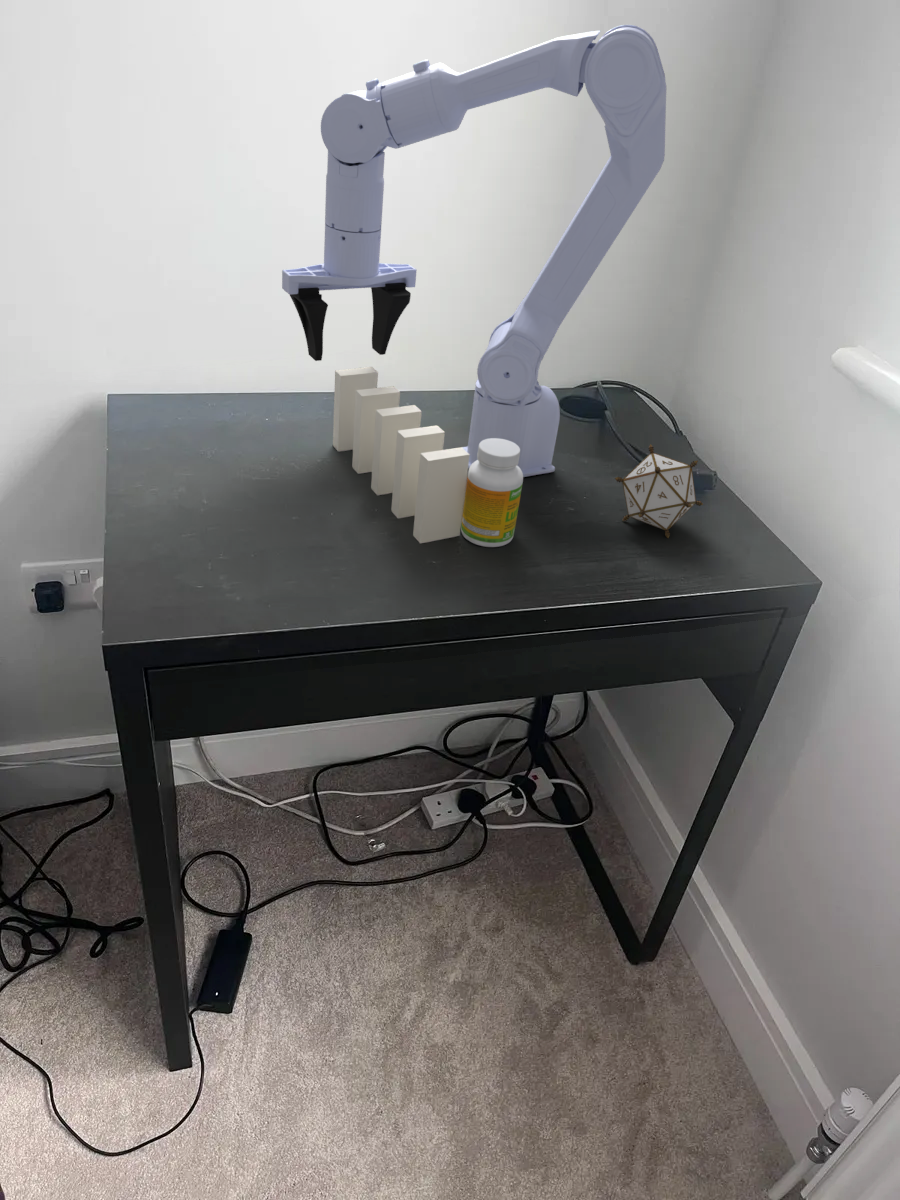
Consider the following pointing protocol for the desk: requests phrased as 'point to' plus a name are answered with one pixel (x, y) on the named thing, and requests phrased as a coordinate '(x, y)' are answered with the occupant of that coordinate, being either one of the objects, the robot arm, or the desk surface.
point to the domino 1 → (349, 402)
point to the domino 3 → (389, 443)
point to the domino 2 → (369, 423)
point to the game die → (659, 491)
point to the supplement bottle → (492, 494)
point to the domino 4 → (411, 465)
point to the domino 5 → (440, 494)
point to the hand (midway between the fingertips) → (347, 354)
